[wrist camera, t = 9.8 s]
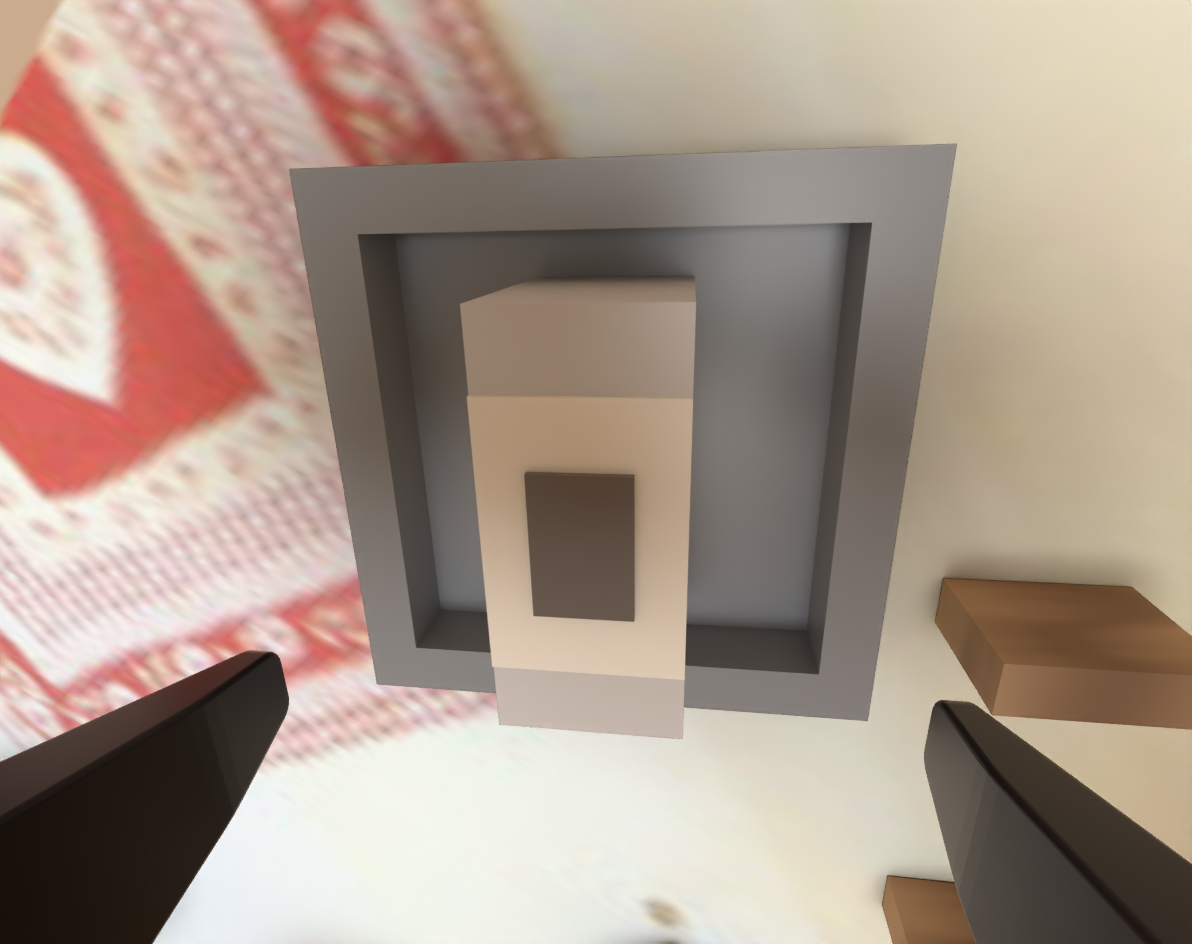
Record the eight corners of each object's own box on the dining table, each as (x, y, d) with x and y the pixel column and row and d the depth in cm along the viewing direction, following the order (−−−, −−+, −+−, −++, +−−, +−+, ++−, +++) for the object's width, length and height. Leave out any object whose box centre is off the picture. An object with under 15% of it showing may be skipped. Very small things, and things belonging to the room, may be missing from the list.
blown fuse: (694, 275, 16) (696, 303, 10) (685, 593, 19) (682, 748, 14) (535, 277, 17) (455, 305, 11) (552, 586, 20) (496, 732, 14)
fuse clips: (1132, 587, 18) (1242, 678, 15) (1029, 921, 23) (1094, 1054, 20) (943, 578, 19) (1004, 663, 15) (882, 905, 24) (917, 1030, 20)
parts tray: (909, 158, 16) (956, 143, 13) (843, 653, 20) (867, 721, 18) (353, 178, 17) (289, 169, 15) (415, 626, 22) (377, 684, 20)
